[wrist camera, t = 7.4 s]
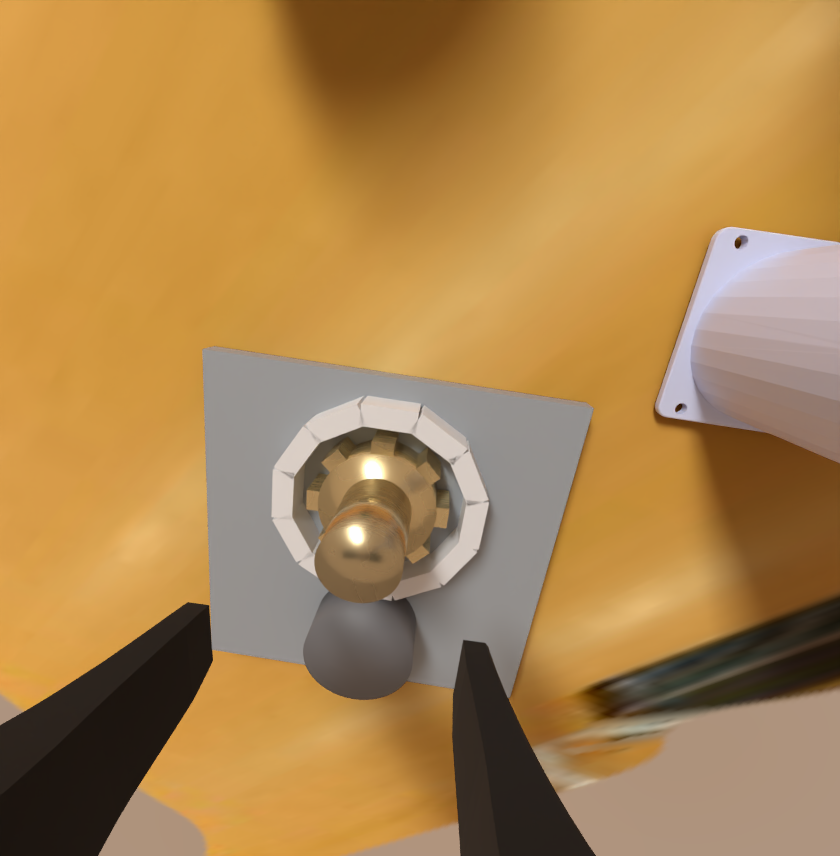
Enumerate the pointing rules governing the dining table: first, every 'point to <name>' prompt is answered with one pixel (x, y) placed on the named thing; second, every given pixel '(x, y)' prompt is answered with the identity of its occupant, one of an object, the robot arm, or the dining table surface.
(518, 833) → the robot arm
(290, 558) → the carrier plate
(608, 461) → the dining table surface
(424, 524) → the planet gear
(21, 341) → the dining table surface
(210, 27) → the dining table surface
